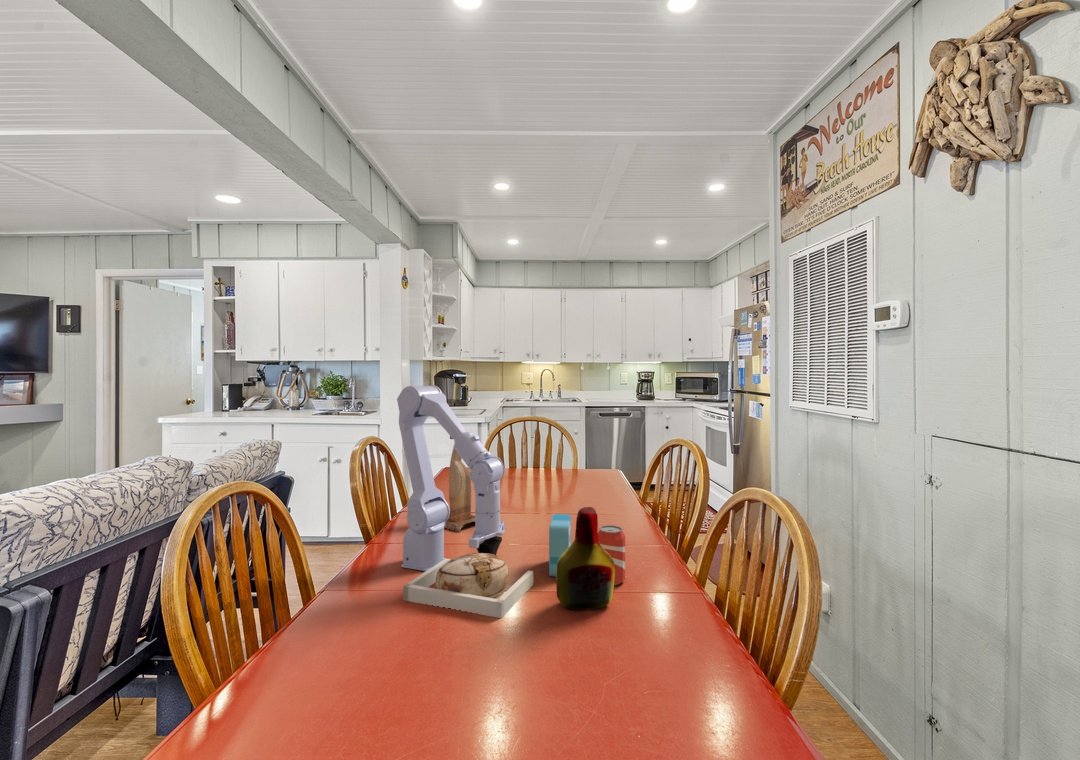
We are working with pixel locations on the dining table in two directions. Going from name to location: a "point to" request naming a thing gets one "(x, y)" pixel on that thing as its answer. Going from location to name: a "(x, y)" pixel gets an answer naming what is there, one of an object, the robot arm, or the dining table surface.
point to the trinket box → (474, 575)
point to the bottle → (585, 567)
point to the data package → (558, 539)
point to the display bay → (464, 602)
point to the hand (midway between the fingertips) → (487, 569)
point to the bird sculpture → (459, 494)
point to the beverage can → (614, 548)
